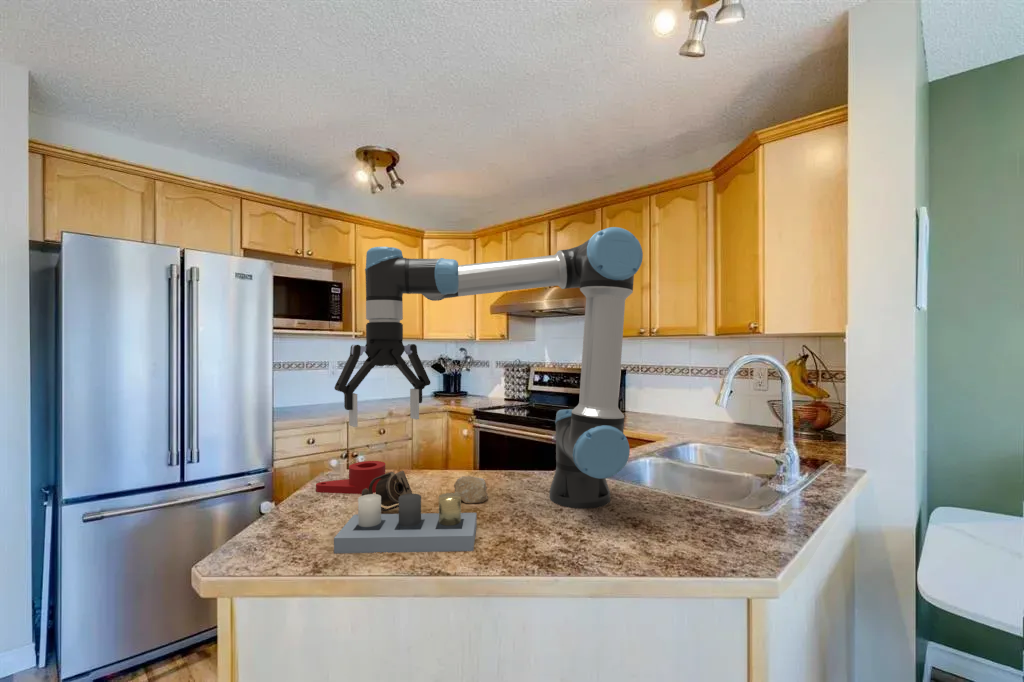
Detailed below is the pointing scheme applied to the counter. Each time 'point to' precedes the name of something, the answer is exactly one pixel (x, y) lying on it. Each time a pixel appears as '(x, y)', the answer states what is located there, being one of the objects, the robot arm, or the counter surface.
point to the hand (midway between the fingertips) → (385, 422)
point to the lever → (355, 479)
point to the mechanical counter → (390, 488)
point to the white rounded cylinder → (369, 510)
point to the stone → (471, 489)
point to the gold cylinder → (449, 509)
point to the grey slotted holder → (407, 535)
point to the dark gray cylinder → (409, 509)
